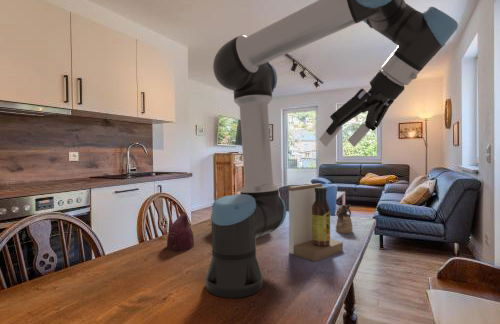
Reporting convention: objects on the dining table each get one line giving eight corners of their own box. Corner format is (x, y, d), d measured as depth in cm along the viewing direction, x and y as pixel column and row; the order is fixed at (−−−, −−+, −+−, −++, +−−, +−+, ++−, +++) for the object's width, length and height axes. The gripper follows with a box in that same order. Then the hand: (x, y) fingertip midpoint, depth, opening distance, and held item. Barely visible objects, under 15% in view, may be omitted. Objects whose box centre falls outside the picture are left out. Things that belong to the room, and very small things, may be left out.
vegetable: (197, 254, 113) (207, 217, 112) (174, 258, 106) (184, 218, 104) (182, 242, 120) (191, 207, 119) (160, 244, 113) (169, 207, 111)
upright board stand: (314, 261, 96) (313, 189, 95) (288, 253, 104) (288, 187, 103) (343, 250, 106) (343, 185, 106) (318, 243, 115) (317, 183, 114)
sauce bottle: (330, 247, 100) (330, 188, 100) (311, 246, 102) (311, 188, 101) (329, 241, 107) (329, 186, 106) (311, 240, 108) (311, 186, 107)
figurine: (337, 228, 137) (337, 202, 136) (353, 230, 134) (353, 203, 133) (334, 232, 130) (334, 205, 130) (351, 234, 127) (351, 206, 127)
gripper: (377, 79, 61) (317, 153, 73) (425, 93, 77) (369, 152, 89) (354, 59, 65) (300, 132, 77) (404, 76, 81) (353, 135, 93)
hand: (337, 143), depth 83 cm, fingers open, 13 cm apart
